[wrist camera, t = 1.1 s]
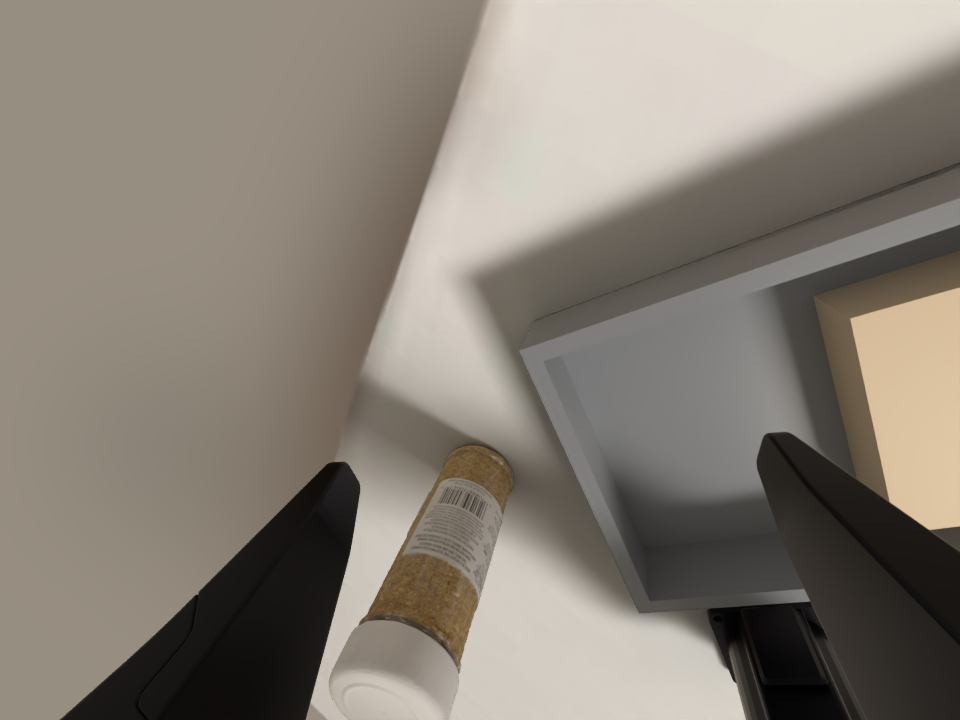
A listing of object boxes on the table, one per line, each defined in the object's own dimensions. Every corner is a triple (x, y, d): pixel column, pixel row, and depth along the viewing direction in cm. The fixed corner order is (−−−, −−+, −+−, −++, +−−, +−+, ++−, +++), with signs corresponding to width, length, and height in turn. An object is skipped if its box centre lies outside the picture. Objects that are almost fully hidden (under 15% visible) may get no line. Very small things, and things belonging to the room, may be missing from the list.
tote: (1104, 494, 18) (1225, 572, 15) (634, 553, 26) (639, 613, 23) (1089, 114, 14) (1252, 96, 10) (532, 321, 22) (518, 350, 18)
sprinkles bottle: (434, 474, 28) (308, 702, 16) (466, 428, 26) (348, 651, 14) (493, 512, 28) (410, 768, 16) (530, 469, 26) (466, 729, 14)
